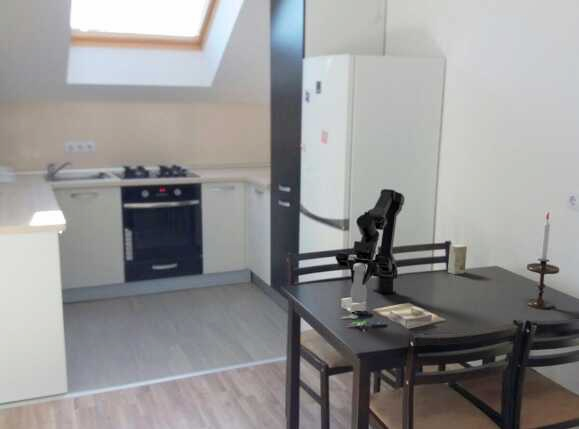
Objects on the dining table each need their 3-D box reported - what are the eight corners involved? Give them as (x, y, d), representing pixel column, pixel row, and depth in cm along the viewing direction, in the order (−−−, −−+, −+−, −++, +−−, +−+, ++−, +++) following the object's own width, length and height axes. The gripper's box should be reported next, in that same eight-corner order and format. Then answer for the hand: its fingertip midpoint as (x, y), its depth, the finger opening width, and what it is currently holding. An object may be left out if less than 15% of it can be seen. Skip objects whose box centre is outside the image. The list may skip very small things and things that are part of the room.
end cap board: (373, 310, 210) (373, 302, 210) (408, 304, 218) (409, 296, 217) (407, 328, 194) (408, 319, 193) (444, 321, 201) (445, 312, 201)
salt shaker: (366, 304, 197) (367, 266, 194) (349, 303, 198) (350, 265, 196) (367, 299, 202) (368, 262, 200) (350, 297, 204) (351, 261, 201)
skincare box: (454, 274, 257) (456, 247, 254) (447, 272, 260) (449, 245, 258) (465, 273, 259) (467, 245, 257) (458, 270, 263) (460, 243, 261)
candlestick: (555, 311, 212) (565, 215, 205) (523, 307, 216) (531, 212, 209) (555, 302, 221) (564, 210, 215) (524, 298, 226) (532, 207, 219)
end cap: (351, 313, 208) (352, 304, 207) (341, 307, 214) (341, 298, 213) (366, 310, 211) (366, 302, 210) (354, 304, 217) (355, 296, 216)
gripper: (337, 228, 203) (325, 268, 195) (391, 234, 196) (381, 275, 188) (344, 246, 212) (333, 284, 204) (396, 251, 204) (386, 291, 196)
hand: (357, 283), depth 198 cm, fingers closed on salt shaker, 3 cm apart
